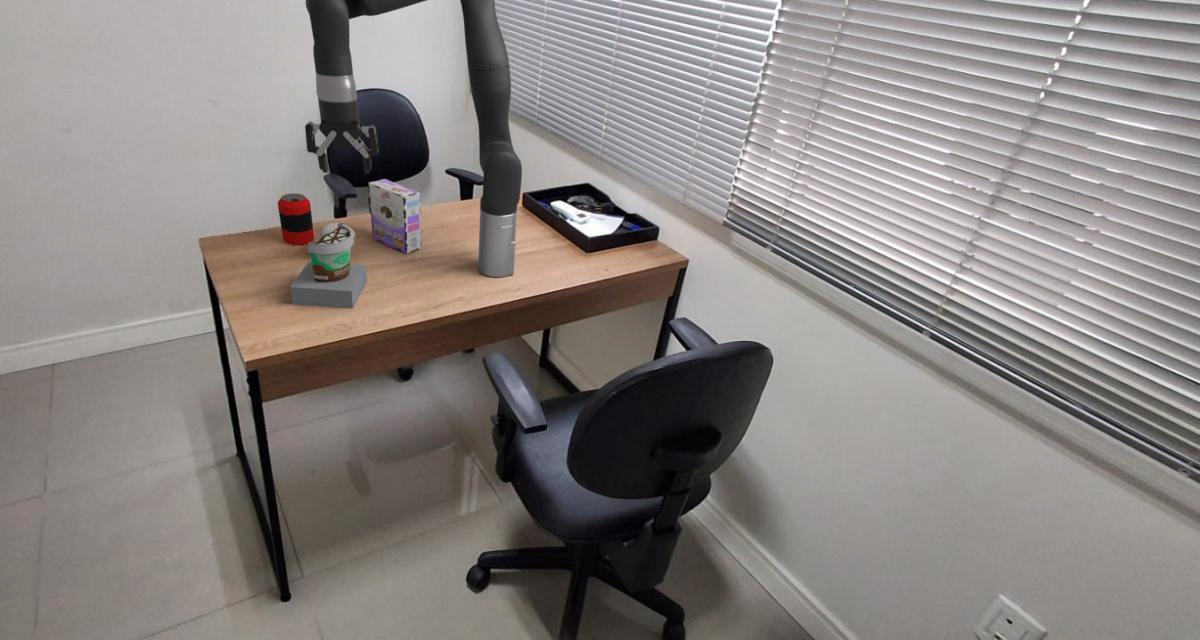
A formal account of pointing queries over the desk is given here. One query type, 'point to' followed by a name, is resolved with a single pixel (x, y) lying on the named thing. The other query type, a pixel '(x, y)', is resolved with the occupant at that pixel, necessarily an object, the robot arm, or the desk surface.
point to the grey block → (329, 288)
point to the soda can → (296, 219)
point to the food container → (332, 255)
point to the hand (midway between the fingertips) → (346, 172)
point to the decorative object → (334, 226)
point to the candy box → (395, 215)
